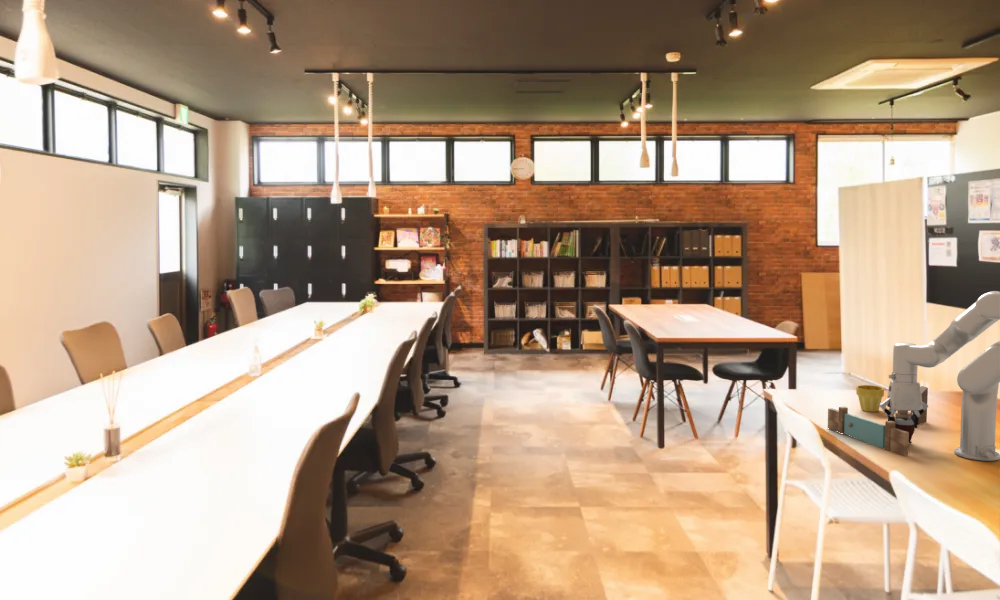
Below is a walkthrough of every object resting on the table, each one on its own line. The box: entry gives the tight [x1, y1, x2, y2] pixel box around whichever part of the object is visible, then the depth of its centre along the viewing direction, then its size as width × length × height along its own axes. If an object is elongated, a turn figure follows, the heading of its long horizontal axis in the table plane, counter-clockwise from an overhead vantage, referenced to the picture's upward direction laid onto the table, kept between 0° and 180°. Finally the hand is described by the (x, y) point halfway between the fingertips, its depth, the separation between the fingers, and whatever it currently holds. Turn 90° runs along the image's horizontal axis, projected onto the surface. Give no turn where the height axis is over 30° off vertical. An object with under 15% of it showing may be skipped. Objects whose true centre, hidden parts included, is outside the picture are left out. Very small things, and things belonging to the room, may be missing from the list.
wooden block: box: [894, 385, 929, 424], centre depth 271 cm, size 4×11×18 cm, turn 93°
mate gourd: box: [895, 411, 916, 444], centre depth 243 cm, size 8×8×15 cm
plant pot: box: [855, 384, 885, 413], centre depth 292 cm, size 10×10×10 cm
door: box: [843, 413, 885, 449], centre depth 247 cm, size 18×2×8 cm, turn 15°
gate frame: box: [827, 406, 910, 457], centre depth 247 cm, size 36×2×10 cm, turn 15°
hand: (902, 426), depth 244 cm, fingers closed on mate gourd, 7 cm apart
